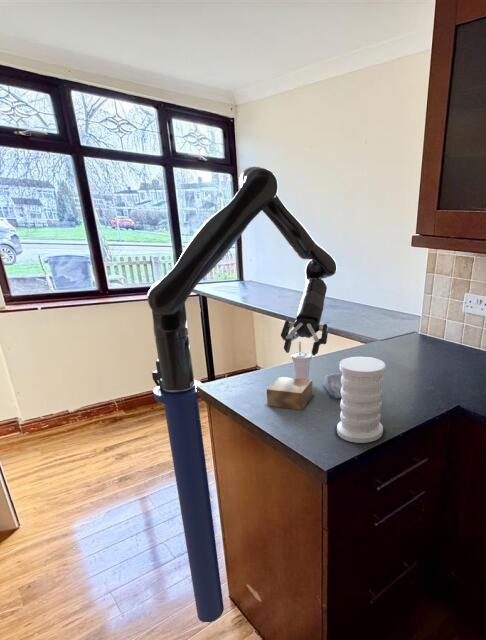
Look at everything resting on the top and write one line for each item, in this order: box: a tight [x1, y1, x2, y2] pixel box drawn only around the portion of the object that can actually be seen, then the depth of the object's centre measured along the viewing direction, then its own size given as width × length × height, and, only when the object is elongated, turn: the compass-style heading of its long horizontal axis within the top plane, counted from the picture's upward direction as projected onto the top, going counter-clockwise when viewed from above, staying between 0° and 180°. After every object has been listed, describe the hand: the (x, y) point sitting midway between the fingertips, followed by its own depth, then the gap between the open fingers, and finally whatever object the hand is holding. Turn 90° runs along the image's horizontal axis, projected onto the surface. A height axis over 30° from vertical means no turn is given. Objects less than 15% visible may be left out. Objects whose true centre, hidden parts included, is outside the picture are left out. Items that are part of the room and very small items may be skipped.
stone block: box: [323, 373, 342, 400], centre depth 125 cm, size 12×5×10 cm
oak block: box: [266, 376, 313, 411], centre depth 116 cm, size 10×10×5 cm
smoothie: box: [290, 341, 313, 380], centre depth 127 cm, size 6×6×14 cm
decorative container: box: [336, 356, 387, 444], centre depth 99 cm, size 12×12×18 cm
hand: (300, 353), depth 124 cm, fingers open, 8 cm apart
